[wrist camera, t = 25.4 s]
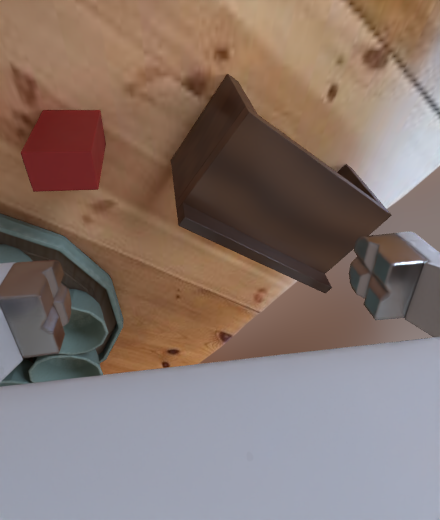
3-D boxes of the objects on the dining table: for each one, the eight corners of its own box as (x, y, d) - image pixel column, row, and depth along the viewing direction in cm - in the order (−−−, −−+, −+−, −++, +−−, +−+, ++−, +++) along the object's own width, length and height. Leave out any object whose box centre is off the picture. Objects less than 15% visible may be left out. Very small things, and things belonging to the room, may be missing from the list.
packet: (42, 109, 39) (20, 152, 32) (100, 109, 40) (91, 151, 33) (52, 145, 42) (33, 191, 35) (106, 144, 43) (98, 189, 36)
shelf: (227, 73, 40) (255, 123, 30) (352, 168, 50) (403, 228, 41) (170, 160, 45) (178, 225, 36) (293, 229, 56) (325, 293, 46)
